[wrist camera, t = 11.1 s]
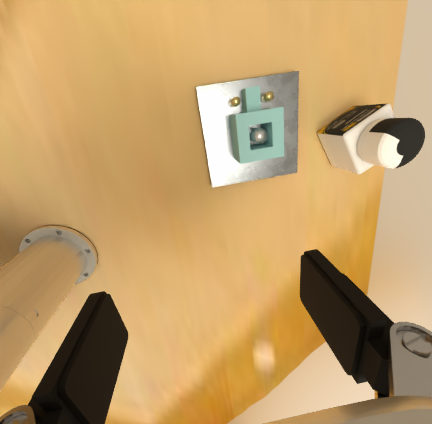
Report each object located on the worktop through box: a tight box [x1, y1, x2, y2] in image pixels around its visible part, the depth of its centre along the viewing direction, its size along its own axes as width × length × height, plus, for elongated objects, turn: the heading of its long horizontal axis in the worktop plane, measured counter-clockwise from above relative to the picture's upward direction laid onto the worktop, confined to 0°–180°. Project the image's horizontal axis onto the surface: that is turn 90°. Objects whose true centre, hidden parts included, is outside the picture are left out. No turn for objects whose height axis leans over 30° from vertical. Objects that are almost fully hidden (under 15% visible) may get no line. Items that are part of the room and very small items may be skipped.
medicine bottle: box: [317, 104, 425, 174], centre depth 31 cm, size 7×7×12 cm
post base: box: [196, 71, 299, 188], centre depth 32 cm, size 15×15×6 cm
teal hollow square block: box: [229, 86, 284, 164], centre depth 30 cm, size 9×6×5 cm
